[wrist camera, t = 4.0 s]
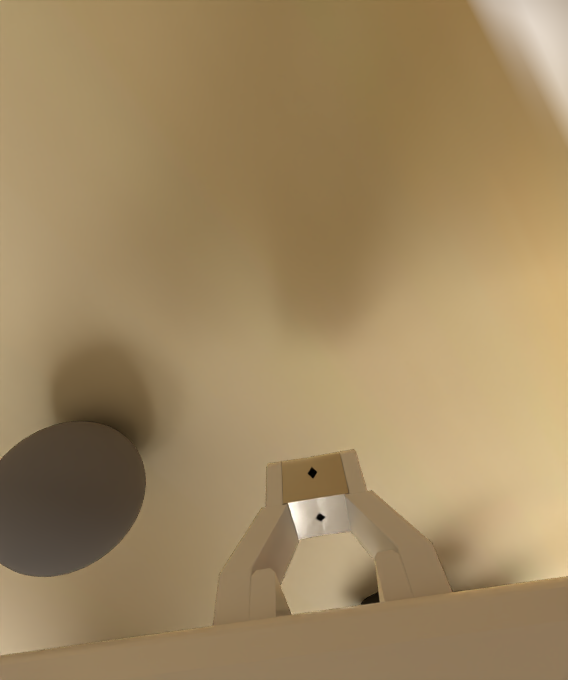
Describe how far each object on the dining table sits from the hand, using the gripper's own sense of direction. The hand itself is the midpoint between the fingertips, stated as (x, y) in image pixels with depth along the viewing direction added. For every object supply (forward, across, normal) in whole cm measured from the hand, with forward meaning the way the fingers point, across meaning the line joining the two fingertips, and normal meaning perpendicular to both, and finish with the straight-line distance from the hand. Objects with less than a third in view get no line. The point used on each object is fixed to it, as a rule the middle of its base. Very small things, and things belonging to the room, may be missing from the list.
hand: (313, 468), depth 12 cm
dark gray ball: (+1, -10, 0) cm, 10 cm away
